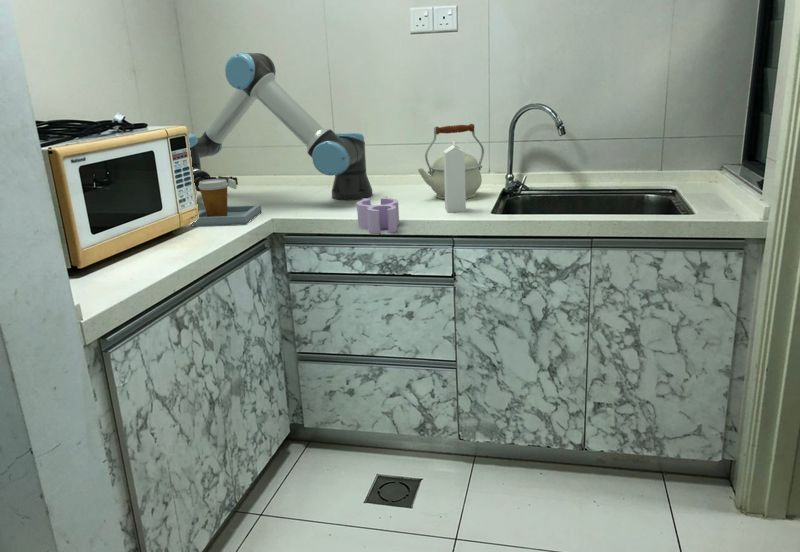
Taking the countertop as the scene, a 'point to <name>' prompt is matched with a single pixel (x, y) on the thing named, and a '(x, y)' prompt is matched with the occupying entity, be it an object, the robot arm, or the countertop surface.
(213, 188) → the disposable coffee cup
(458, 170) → the milk
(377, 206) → the clip
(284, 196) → the countertop surface
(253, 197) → the countertop surface
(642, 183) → the countertop surface
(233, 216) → the tray
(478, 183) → the kettle
